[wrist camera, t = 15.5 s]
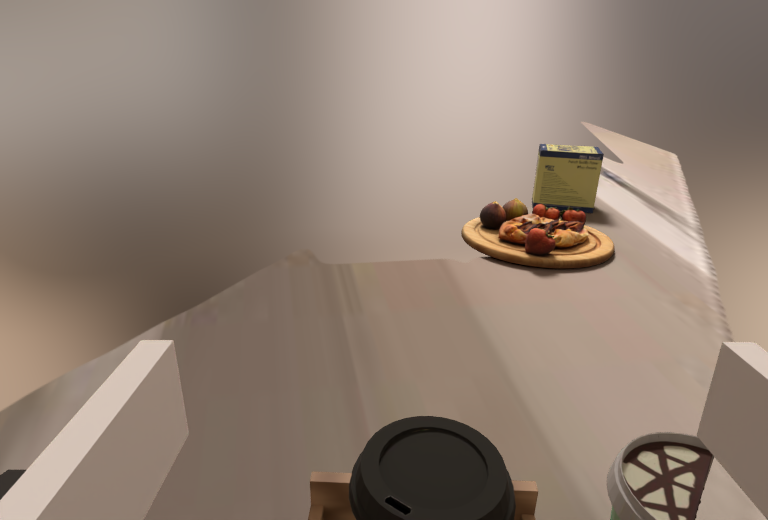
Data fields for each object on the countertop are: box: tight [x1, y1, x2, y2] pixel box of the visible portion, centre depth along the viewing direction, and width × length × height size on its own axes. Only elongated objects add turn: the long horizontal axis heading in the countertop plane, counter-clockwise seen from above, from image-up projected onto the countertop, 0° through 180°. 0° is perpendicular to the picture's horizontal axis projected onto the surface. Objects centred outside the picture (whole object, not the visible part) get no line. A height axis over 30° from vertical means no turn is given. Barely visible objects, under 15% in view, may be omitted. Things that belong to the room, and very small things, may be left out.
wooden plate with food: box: [462, 198, 614, 268], centre depth 110 cm, size 32×32×8 cm
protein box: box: [532, 144, 603, 213], centre depth 135 cm, size 10×16×16 cm
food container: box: [607, 432, 714, 520], centre depth 39 cm, size 12×6×10 cm, turn 141°
